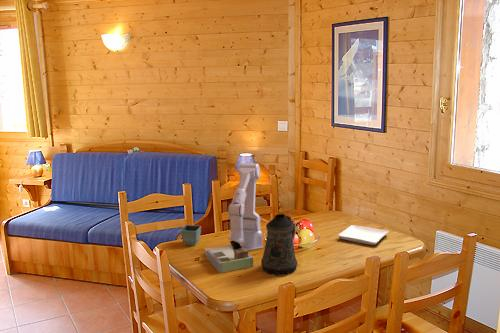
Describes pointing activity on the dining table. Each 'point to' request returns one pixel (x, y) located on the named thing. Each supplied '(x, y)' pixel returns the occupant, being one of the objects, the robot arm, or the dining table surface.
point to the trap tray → (227, 259)
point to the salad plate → (362, 234)
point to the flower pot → (190, 234)
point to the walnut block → (240, 253)
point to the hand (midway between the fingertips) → (237, 255)
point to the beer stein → (279, 247)
